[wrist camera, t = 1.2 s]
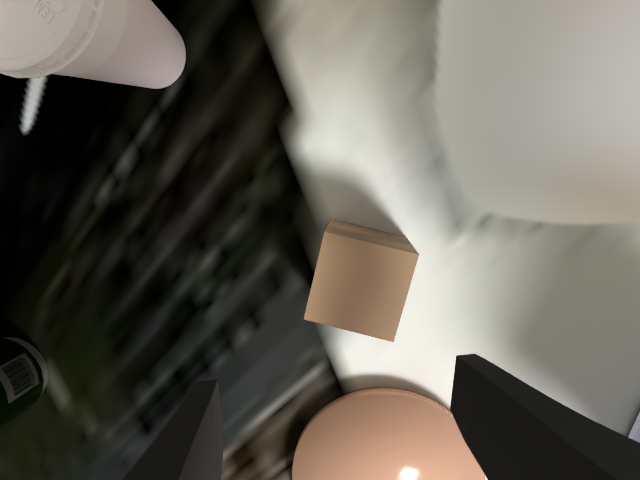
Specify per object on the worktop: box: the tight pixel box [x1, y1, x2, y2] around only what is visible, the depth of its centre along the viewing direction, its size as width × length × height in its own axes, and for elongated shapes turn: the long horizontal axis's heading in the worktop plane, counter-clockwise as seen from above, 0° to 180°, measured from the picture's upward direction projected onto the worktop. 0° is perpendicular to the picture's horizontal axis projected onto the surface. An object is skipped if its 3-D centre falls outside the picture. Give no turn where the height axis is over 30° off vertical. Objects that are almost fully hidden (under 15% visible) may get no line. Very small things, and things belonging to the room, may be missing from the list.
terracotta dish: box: [292, 388, 485, 480], centre depth 24 cm, size 12×12×1 cm
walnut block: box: [304, 219, 419, 342], centre depth 20 cm, size 4×4×4 cm
